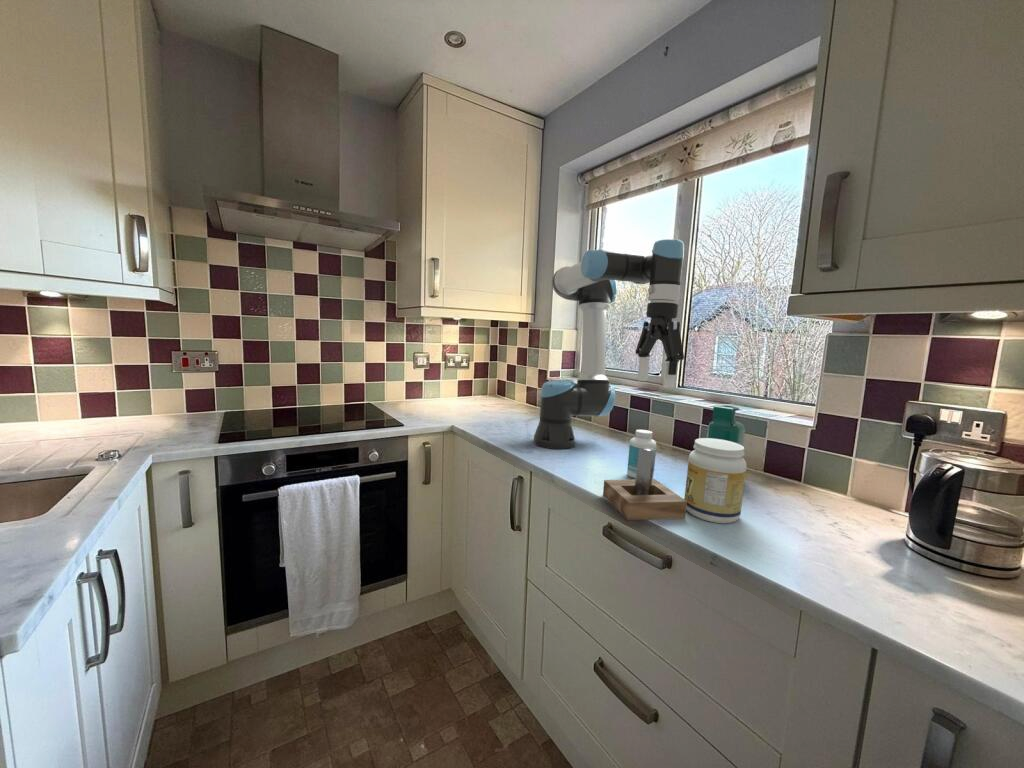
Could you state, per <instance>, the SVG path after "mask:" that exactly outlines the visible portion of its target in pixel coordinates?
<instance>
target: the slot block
mask: <svg viewBox="0 0 1024 768" xmlns="http://www.w3.org/2000/svg"><path fill="white" fill-rule="evenodd" d="M635 480H636V479H604V480H603V490H602V491H603V492H602V496H603V497H604V498H605V499H606V500H607V501H608V502H609V503H610V504H611V505H612V506H613V507H614V508H615V509H616V510H617V511H618V512H619V513H620V514H621V515H622V516H623V517H624V518H625V519H626V520H627V521H640V520H647V521H648V520H669V519H671V520H672V519H686V514H687V510H686V506H687V501H686V500H684V498H683V497H681V496H680V495H678V494H677V492H674V491H672V489H670V488H669V487H667V486H666V485H664V484H663V483H661V482H660V481H658V480H657V479H656V478H655V479H654V478H653V479H652V488H651V495H634V490H635Z"/></svg>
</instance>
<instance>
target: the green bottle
mask: <svg viewBox="0 0 1024 768" xmlns="http://www.w3.org/2000/svg"><path fill="white" fill-rule="evenodd" d="M739 410H740V408H739V407H737V406H735V405H713V410H712V411H713V412H712V421H711V422H709V424H708V426H707V434H706V438H713V439H721V440H726V441H731V442H734V443H737V444H740V445H742V446H743V447H744V442H745V434H746V428H745V425H744V424H743V423H741V422H738V421H736V412H737V411H739Z"/></svg>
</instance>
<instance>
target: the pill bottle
mask: <svg viewBox="0 0 1024 768" xmlns="http://www.w3.org/2000/svg"><path fill="white" fill-rule="evenodd" d="M652 438H653V431H652V430H647V429H636V430H635V436H634V437H632V438H631V439H630V440H629V446H628V456H627V457H628V459H627V460H628V461H627V471H626V473H627V476H629V477H630V478H631V479H634V480H636V471H637V461H638V451H639V448H640V447H648V448H652V449H655V450H656V451H655V457H656V455H657V442H656V440H654V439H652ZM655 465H656V460H655V461H654V467H655ZM654 474H655V469H654V470H653V477H654V476H655V475H654Z"/></svg>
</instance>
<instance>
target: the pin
mask: <svg viewBox="0 0 1024 768" xmlns="http://www.w3.org/2000/svg"><path fill="white" fill-rule="evenodd" d="M655 451H656V452H657V449H656V450H655V449H652V448H648V447H640V448H639V451H638V461H637V471H636V479H634V480H635V490H634V495H651V488H652V479H654V476H653V470H654V471H655V466H654V461H655V462H656V456H655Z"/></svg>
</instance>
